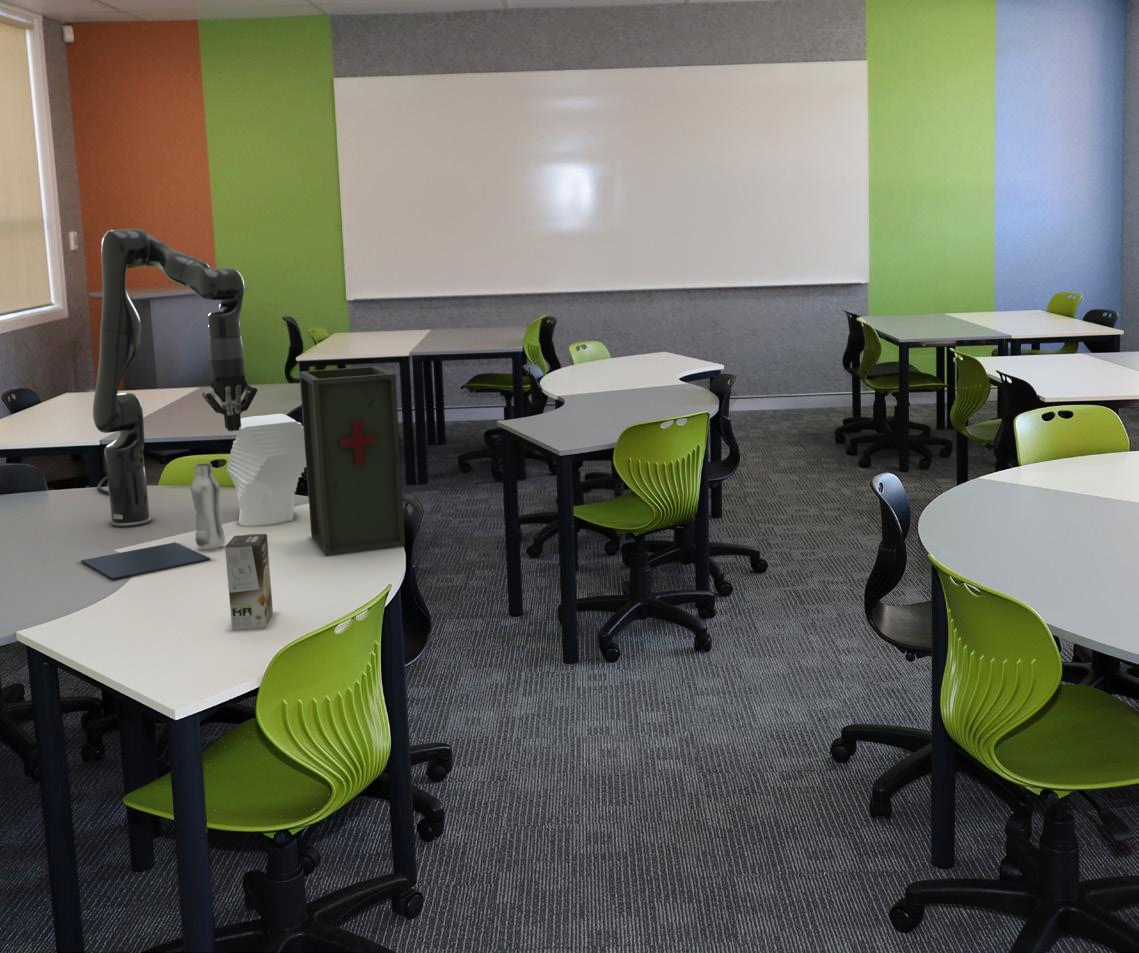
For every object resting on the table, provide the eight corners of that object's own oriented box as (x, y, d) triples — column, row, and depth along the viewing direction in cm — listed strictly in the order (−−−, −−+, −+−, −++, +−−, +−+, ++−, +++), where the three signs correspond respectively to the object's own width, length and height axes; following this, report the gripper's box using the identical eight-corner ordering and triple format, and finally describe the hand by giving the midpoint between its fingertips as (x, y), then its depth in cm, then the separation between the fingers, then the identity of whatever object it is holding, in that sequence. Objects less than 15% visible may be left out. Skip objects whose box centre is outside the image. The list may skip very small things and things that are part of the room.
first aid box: (325, 555, 275) (312, 380, 267) (311, 537, 292) (299, 371, 284) (405, 546, 282) (395, 374, 274) (387, 528, 299) (377, 366, 291)
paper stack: (235, 531, 300) (226, 428, 295) (229, 508, 325) (221, 413, 320) (321, 523, 306) (314, 422, 301) (309, 501, 332) (302, 407, 326)
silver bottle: (217, 552, 281) (210, 467, 277) (190, 551, 282) (182, 467, 278) (230, 545, 287) (223, 462, 283) (204, 544, 288) (196, 461, 284)
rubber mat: (81, 562, 276) (81, 560, 276) (175, 544, 289) (175, 542, 289) (112, 580, 261) (112, 578, 260) (210, 560, 274) (210, 558, 274)
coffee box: (266, 628, 226) (259, 545, 223) (231, 630, 225) (223, 547, 222) (274, 613, 235) (267, 532, 232) (240, 615, 234) (233, 534, 231)
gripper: (247, 352, 288) (253, 425, 291) (192, 358, 279) (199, 432, 283) (261, 354, 282) (267, 428, 285) (205, 360, 274) (212, 436, 277)
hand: (233, 430), depth 284 cm, fingers closed
